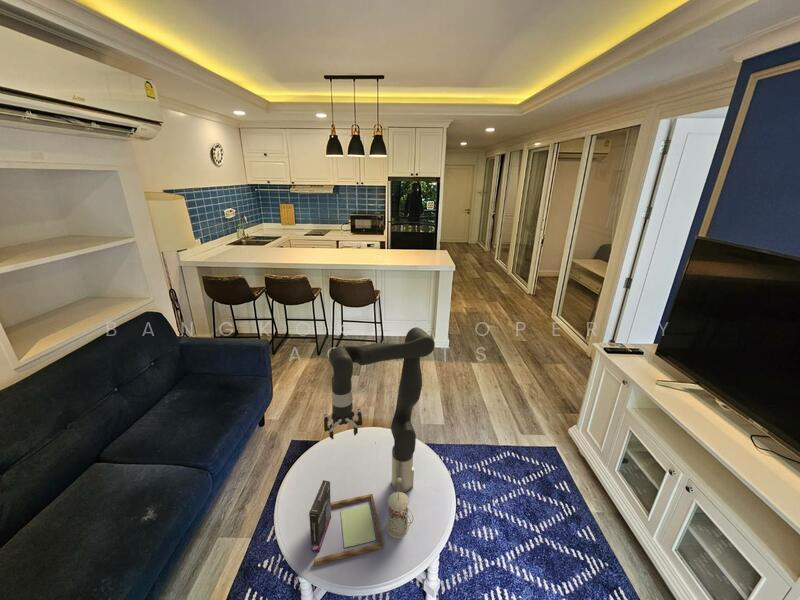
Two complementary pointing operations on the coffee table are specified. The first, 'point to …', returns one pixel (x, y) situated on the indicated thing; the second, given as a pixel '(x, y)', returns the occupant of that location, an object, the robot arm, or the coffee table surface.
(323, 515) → the box
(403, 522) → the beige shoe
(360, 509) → the bay
